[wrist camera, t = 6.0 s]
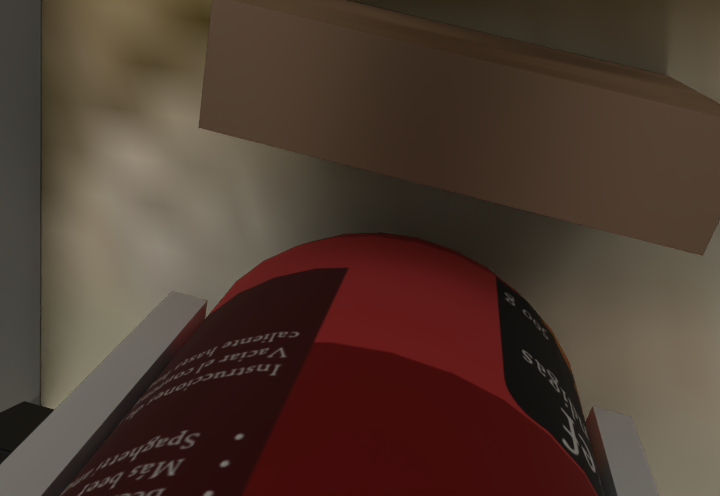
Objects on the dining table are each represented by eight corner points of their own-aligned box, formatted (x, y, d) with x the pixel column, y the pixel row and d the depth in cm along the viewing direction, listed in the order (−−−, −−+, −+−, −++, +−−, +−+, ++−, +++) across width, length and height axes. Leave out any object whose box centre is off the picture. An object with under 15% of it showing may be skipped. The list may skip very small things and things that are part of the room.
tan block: (668, 76, 13) (763, 127, 9) (479, 547, 19) (479, 724, 15) (298, -11, 14) (212, -5, 10) (222, 471, 20) (146, 620, 15)
